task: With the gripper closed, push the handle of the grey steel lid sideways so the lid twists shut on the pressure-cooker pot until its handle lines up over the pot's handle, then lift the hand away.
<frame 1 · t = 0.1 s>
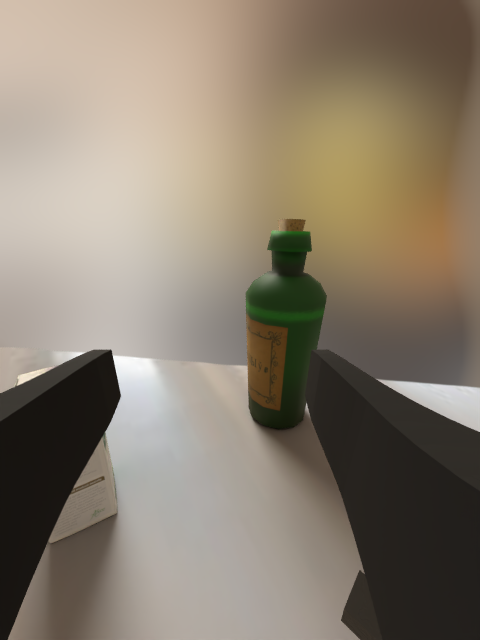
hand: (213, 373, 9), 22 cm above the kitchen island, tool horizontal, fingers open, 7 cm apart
syrup box: (84, 504, 26), on the kitchen island
bottle: (276, 412, 40), on the kitchen island
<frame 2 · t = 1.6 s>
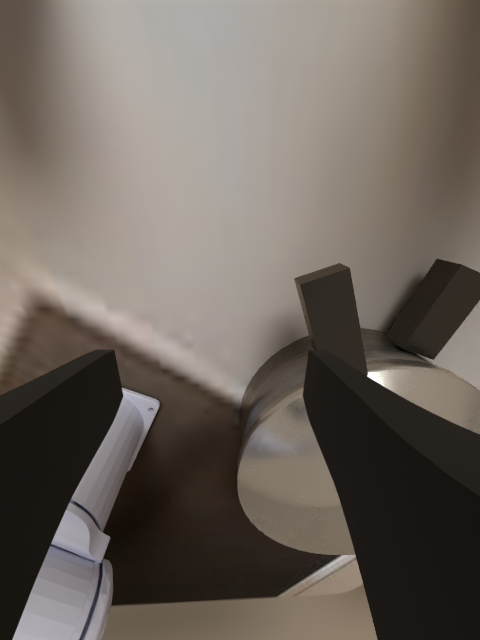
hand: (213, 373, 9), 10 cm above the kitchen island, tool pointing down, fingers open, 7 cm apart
cooker pot: (334, 413, 24), on the kitchen island
cooker lid: (363, 454, 17), point 7 cm above the kitchen island, hinge at 40.0°
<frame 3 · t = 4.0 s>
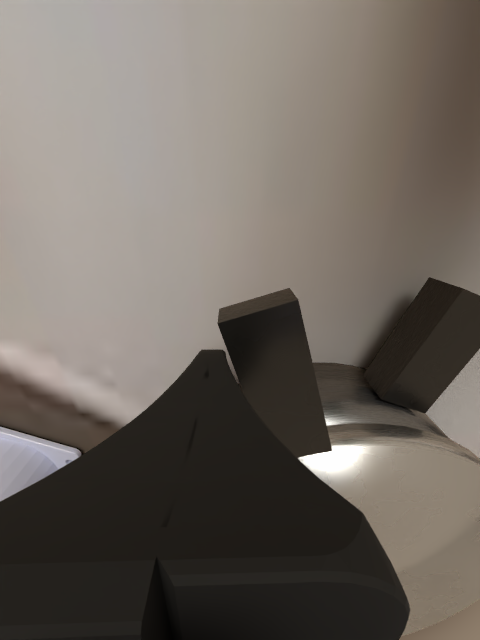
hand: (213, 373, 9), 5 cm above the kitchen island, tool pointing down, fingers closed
cooker pot: (304, 463, 19), on the kitchen island
cooker lid: (328, 549, 12), point 7 cm above the kitchen island, hinge at 38.1°, touching gripper
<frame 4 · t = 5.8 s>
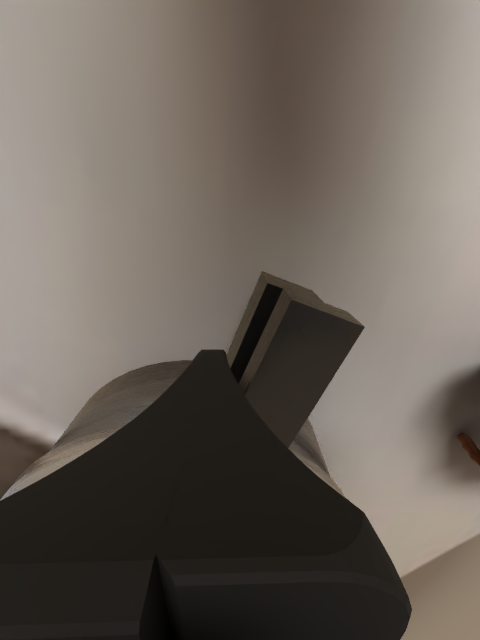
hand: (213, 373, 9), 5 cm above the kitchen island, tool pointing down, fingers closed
cooker pot: (196, 463, 19), on the kitchen island
cooker lid: (198, 551, 12), point 7 cm above the kitchen island, hinge at -0.2°, touching gripper
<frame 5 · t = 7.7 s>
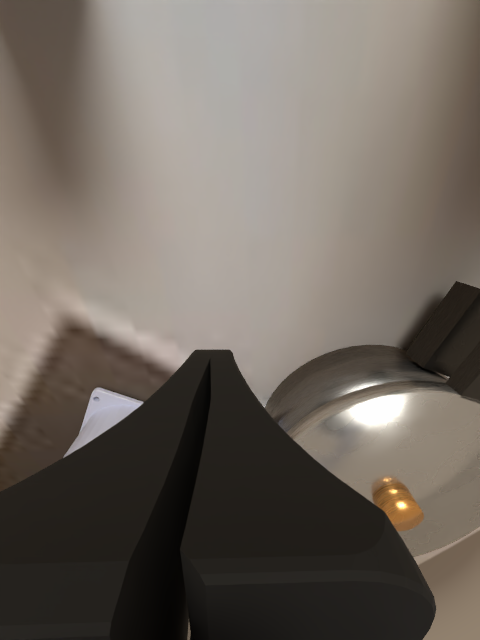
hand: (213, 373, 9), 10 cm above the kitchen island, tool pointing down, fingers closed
cooker pot: (352, 425, 25), on the kitchen island
cooker lid: (418, 469, 17), point 7 cm above the kitchen island, hinge at -0.2°
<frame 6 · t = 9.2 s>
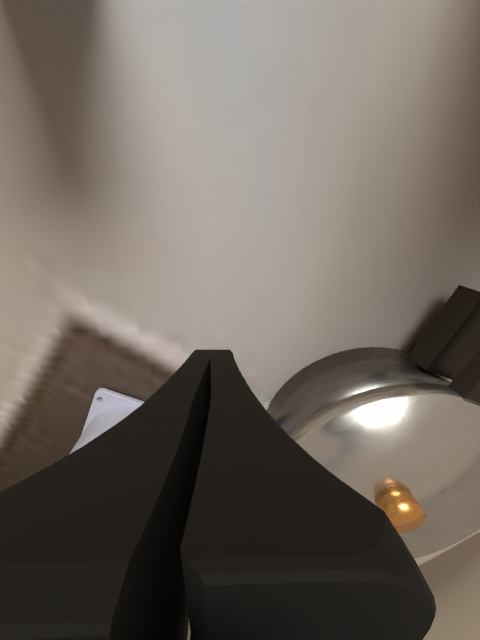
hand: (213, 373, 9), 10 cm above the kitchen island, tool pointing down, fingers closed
cooker pot: (353, 427, 25), on the kitchen island
cooker lid: (420, 471, 17), point 7 cm above the kitchen island, hinge at -0.2°
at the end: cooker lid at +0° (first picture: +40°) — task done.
